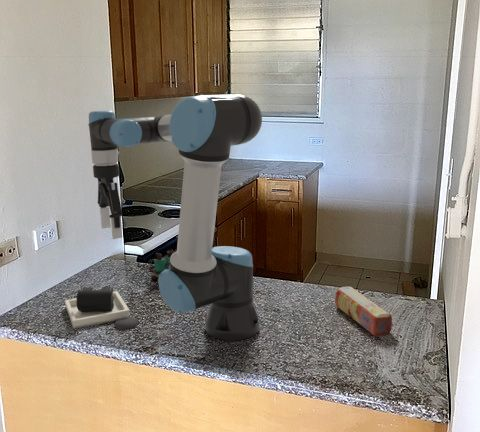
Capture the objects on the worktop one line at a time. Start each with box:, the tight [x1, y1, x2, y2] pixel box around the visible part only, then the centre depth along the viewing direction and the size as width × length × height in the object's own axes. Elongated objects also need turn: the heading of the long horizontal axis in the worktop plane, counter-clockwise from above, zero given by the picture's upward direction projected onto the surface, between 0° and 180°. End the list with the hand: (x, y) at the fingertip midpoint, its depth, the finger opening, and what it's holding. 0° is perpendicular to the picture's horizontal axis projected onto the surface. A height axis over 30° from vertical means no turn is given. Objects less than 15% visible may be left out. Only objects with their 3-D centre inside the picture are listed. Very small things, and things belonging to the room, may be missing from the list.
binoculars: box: [148, 249, 174, 284], centre depth 183 cm, size 9×11×10 cm
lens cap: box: [114, 317, 139, 331], centre depth 150 cm, size 6×6×1 cm
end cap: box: [76, 285, 115, 312], centre depth 157 cm, size 10×7×7 cm
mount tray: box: [64, 290, 131, 330], centre depth 157 cm, size 16×16×2 cm
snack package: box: [334, 286, 393, 337], centre depth 149 cm, size 21×7×7 cm, turn 19°
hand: (111, 232), depth 160 cm, fingers open, 13 cm apart
